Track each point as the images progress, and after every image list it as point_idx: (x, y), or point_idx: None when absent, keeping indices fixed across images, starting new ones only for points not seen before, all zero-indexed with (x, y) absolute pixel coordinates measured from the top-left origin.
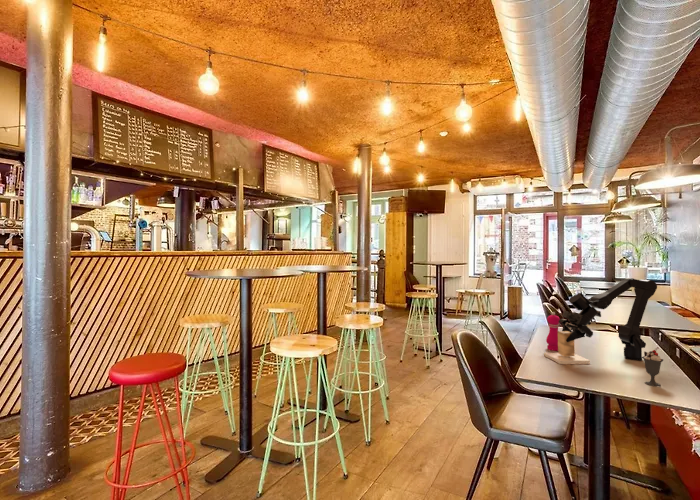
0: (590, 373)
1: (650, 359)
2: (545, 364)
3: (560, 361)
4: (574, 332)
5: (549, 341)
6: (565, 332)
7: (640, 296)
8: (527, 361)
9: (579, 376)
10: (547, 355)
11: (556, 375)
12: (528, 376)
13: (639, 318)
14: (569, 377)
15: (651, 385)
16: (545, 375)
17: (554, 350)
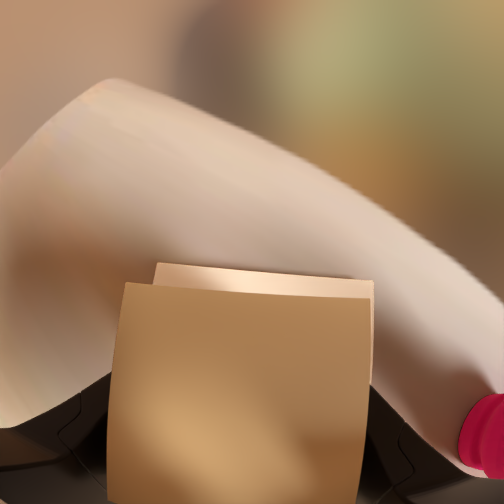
0: (18, 309)
1: None
2: (180, 186)
3: (157, 266)
4: (17, 429)
5: None
6: (191, 381)
7: None
8: (249, 135)
9: (17, 233)
10: (325, 280)
11: (58, 159)
12: (96, 88)
13: None
14: (28, 191)
15: None
16: (76, 128)
17: (464, 422)
